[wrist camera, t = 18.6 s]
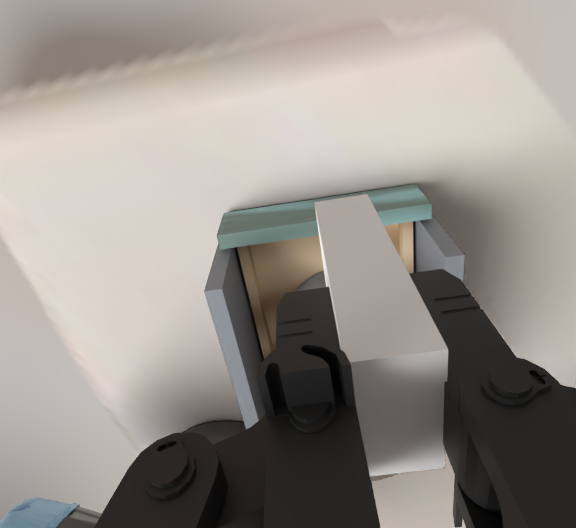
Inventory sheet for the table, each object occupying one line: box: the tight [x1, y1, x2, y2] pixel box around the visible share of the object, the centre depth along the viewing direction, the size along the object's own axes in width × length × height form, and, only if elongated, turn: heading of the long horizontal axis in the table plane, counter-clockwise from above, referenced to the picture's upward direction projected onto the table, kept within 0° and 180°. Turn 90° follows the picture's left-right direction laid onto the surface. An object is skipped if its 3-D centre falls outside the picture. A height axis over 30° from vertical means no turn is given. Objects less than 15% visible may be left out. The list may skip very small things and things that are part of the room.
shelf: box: [217, 184, 432, 359], centre depth 37 cm, size 18×16×4 cm
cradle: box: [204, 215, 465, 429], centre depth 36 cm, size 18×17×10 cm
